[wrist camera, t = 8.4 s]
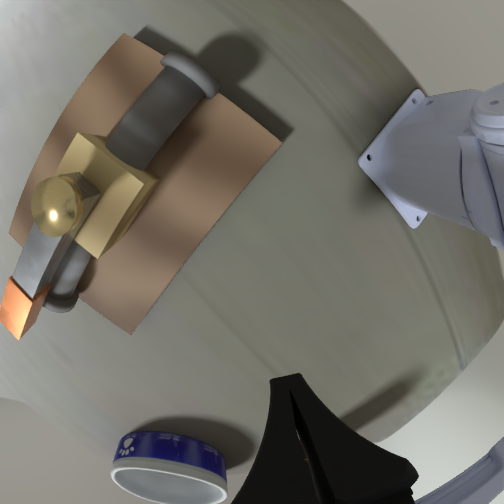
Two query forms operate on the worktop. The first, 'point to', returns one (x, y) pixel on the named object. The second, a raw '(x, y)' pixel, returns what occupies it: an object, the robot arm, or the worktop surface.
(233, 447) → the worktop surface
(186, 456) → the dog bowl
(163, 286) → the valve board
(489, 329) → the worktop surface
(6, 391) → the worktop surface
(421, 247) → the worktop surface
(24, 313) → the valve lever
